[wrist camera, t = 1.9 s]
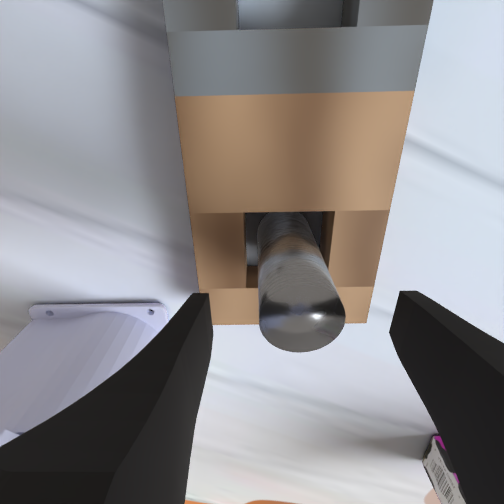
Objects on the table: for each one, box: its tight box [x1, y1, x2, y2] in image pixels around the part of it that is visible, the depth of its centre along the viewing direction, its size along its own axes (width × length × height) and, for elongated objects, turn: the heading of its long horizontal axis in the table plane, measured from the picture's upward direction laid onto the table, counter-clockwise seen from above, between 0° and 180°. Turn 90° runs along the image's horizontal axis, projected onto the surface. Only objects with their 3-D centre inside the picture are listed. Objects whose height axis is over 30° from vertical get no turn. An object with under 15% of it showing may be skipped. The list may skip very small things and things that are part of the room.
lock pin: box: [257, 212, 346, 352], centre depth 14 cm, size 3×3×8 cm
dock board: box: [162, 0, 433, 325], centre depth 14 cm, size 10×22×2 cm, turn 1°
